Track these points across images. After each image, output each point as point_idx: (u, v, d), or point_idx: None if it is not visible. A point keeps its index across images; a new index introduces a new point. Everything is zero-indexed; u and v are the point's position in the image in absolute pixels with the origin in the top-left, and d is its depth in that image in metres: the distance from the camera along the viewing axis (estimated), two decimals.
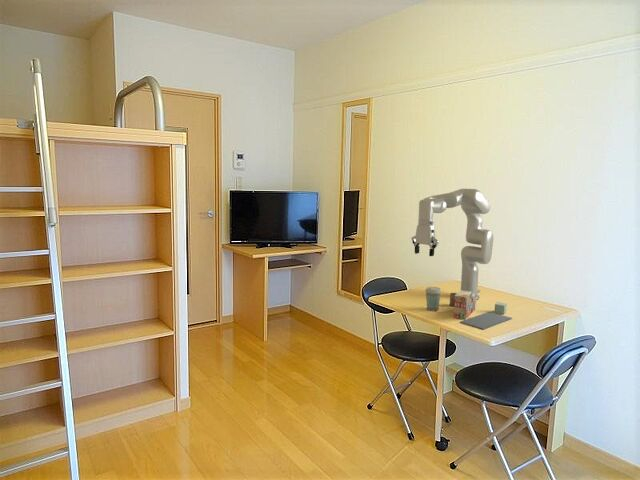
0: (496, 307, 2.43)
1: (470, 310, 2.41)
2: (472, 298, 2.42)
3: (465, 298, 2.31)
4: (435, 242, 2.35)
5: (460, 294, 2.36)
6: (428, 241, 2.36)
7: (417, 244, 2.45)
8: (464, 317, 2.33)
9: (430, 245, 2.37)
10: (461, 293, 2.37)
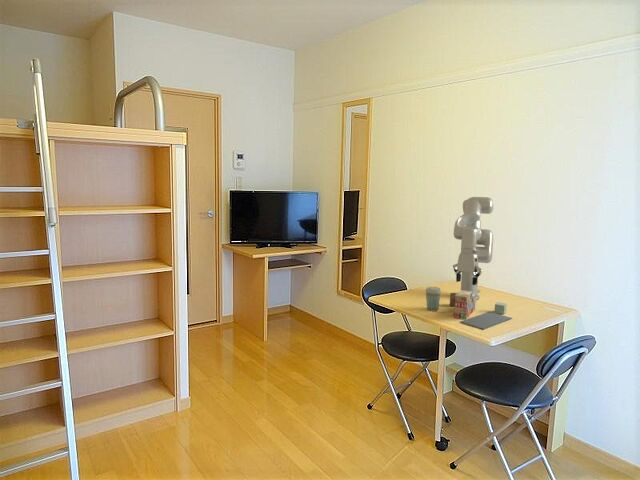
0: (496, 307, 2.43)
1: (470, 310, 2.41)
2: (472, 298, 2.43)
3: (466, 298, 2.31)
4: (479, 271, 2.33)
5: (460, 294, 2.36)
6: (471, 270, 2.34)
7: (459, 272, 2.43)
8: (465, 317, 2.33)
9: (473, 274, 2.35)
10: (461, 293, 2.38)
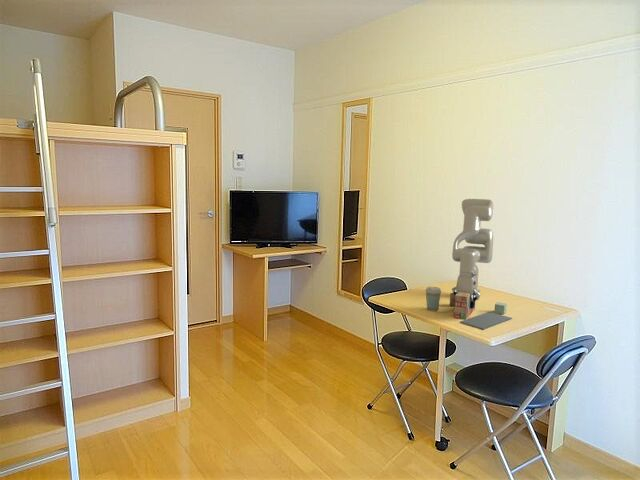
0: (496, 307, 2.43)
1: (470, 309, 2.41)
2: None
3: (466, 298, 2.31)
4: (476, 295, 2.35)
5: (461, 294, 2.36)
6: (470, 293, 2.37)
7: None
8: (465, 317, 2.33)
9: (471, 297, 2.37)
10: (461, 293, 2.38)
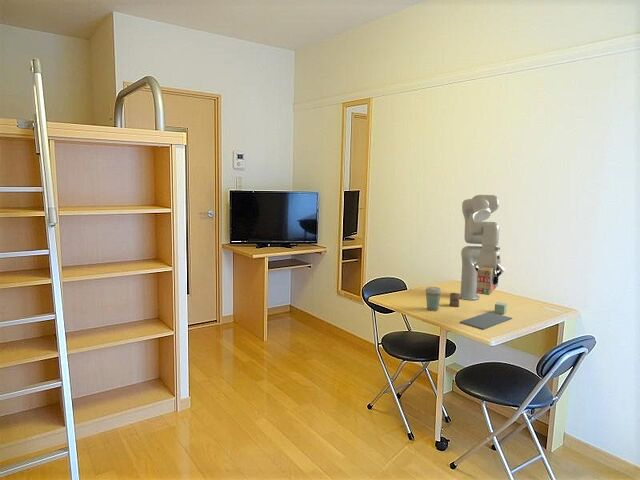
0: (496, 307, 2.43)
1: (493, 286, 2.28)
2: None
3: (489, 272, 2.18)
4: (500, 270, 2.22)
5: (483, 268, 2.22)
6: None
7: None
8: (488, 292, 2.19)
9: (494, 273, 2.23)
10: (484, 267, 2.24)
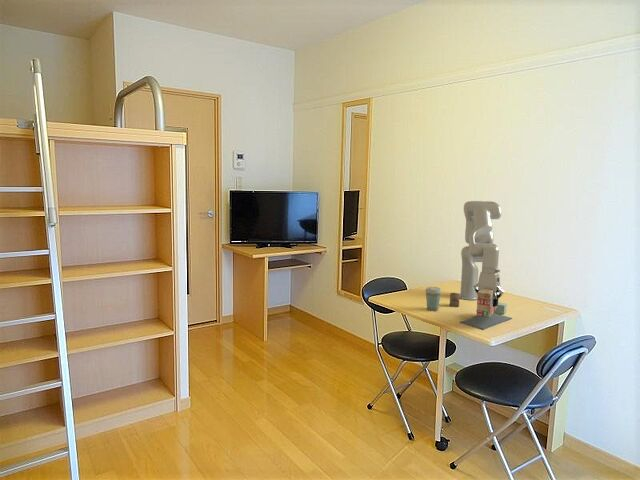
0: None
1: (493, 307, 2.29)
2: None
3: (489, 295, 2.19)
4: (500, 292, 2.23)
5: (483, 290, 2.23)
6: (493, 290, 2.24)
7: None
8: (488, 315, 2.20)
9: (494, 295, 2.24)
10: (484, 289, 2.25)
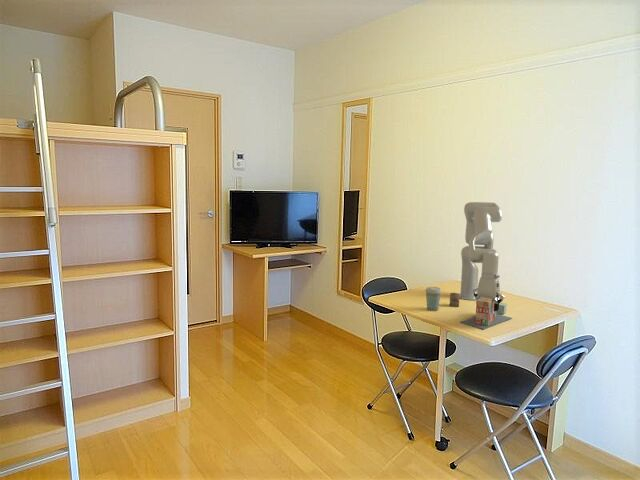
0: None
1: (492, 315, 2.29)
2: (494, 303, 2.31)
3: (488, 303, 2.20)
4: (501, 297, 2.23)
5: (482, 299, 2.24)
6: (493, 296, 2.24)
7: (479, 297, 2.33)
8: (487, 323, 2.21)
9: (495, 300, 2.24)
10: (483, 298, 2.26)
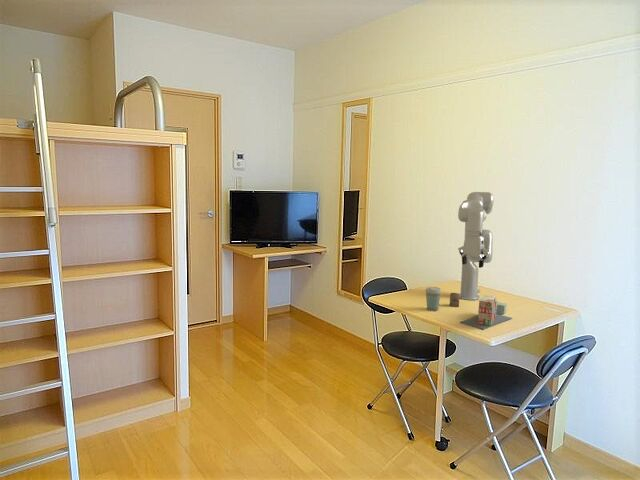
0: None
1: None
2: (495, 303, 2.31)
3: (491, 303, 2.19)
4: (485, 253, 2.31)
5: (484, 299, 2.24)
6: (478, 252, 2.33)
7: None
8: (489, 323, 2.21)
9: (480, 256, 2.33)
10: (485, 298, 2.26)
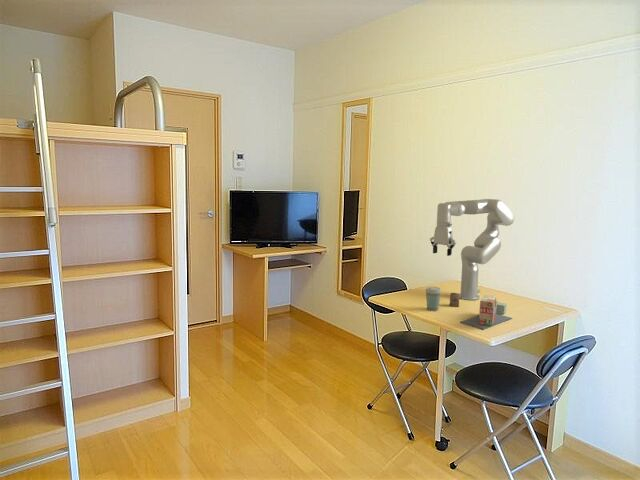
0: None
1: (494, 315, 2.30)
2: (495, 303, 2.32)
3: (492, 303, 2.19)
4: (453, 242, 2.53)
5: (485, 299, 2.24)
6: (446, 242, 2.55)
7: None
8: (490, 323, 2.21)
9: (448, 245, 2.55)
10: (486, 298, 2.26)
